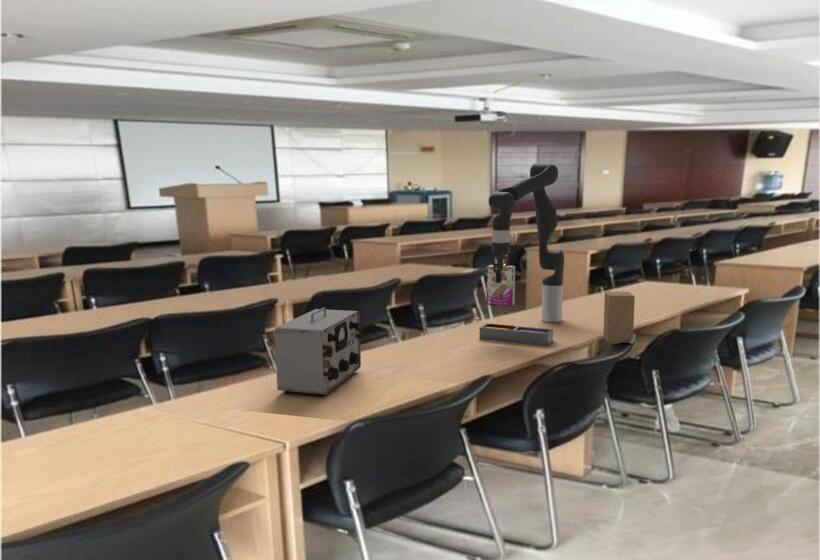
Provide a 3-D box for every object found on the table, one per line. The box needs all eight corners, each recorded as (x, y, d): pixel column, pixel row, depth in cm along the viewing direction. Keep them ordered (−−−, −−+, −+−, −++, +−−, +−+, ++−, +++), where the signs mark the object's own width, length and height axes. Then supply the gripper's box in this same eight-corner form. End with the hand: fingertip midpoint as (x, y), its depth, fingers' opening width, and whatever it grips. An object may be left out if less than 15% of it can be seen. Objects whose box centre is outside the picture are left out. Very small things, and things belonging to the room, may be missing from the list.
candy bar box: (486, 305, 278) (486, 266, 275) (488, 303, 282) (489, 264, 280) (512, 306, 274) (513, 267, 271) (515, 304, 279) (515, 265, 276)
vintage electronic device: (330, 400, 207) (327, 322, 203) (277, 395, 212) (274, 318, 208) (366, 371, 237) (364, 302, 233) (319, 367, 242) (317, 300, 238)
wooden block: (627, 338, 278) (629, 291, 275) (633, 344, 268) (635, 295, 265) (603, 338, 279) (604, 291, 276) (607, 344, 269) (609, 295, 266)
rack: (486, 334, 288) (486, 322, 287) (552, 341, 275) (553, 328, 274) (479, 339, 280) (479, 326, 279) (547, 345, 268) (548, 333, 267)
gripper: (497, 239, 282) (497, 278, 285) (486, 242, 269) (486, 283, 272) (514, 239, 279) (514, 279, 281) (504, 243, 266) (504, 284, 269)
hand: (500, 281), depth 277 cm, fingers closed on candy bar box, 5 cm apart
